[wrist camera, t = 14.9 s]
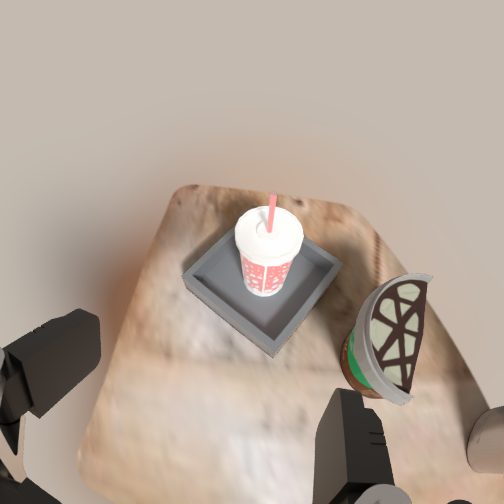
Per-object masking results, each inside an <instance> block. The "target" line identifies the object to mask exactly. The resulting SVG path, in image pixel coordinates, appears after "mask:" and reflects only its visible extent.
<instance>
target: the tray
mask: <svg viewBox="0 0 504 504" xmlns="http://www.w3.org/2000/svg"><path fill="white" fill-rule="evenodd" d="M257 207H258V206H255V207H254V208H257ZM254 208H253V209H254ZM236 225H237V224H236ZM236 225H235V226H234V227H232V228H231V229H230V230H229V231H228V232H227V233H226V234H225V235H224V236H223V237H222V238H221V239H220V240H219V241H217V242H216V243H215V244H214V245H213V246H212V247H211V248H210V249H209V250H208V251H207V252H206V253H205V254H204V255H203V256H202V257H201V258H200V259H198V260H197V261H196V262H195V263H194V264H193V265H192V266H191V267H190V268H189V269H188V270H187V271H186V272H185V273H184V274H183V275H182V279H183V281H184V284H185V286H186V288H187V289H188V290H189V291H190V292H192V293H193V294H194V295H195V296H196V297H197V298H199V299H200V300H201V301H202V302H203V303H205V304H206V305H207V306H208V307H209V308H211V309H212V310H213V311H214V312H215V313H217V314H218V315H219V316H220V317H221V318H223V319H224V320H225V321H226V322H227V323H229V324H230V325H231V326H232V327H234V328H235V329H236V330H237V331H239V332H240V333H241V334H242V335H244V336H245V337H246V338H247V339H249V340H250V341H251V342H253V343H254V344H255V345H256V346H258V347H259V348H260V349H262V350H263V351H264V352H265V353H267V354H268V355H269V356H271V357H272V358H274V356H275V355H276V354H277V353H278V352H279V350H280V349H281V348H282V347H283V345H284V344H285V343H286V342H287V340H288V339H289V338H290V337H291V335H292V334H293V333H294V332H295V330H296V329H297V328H298V327H299V325H300V324H301V323H302V322H303V320H304V319H305V318H306V316H307V315H308V314H309V312H310V311H311V310H312V309H313V307H314V306H315V305H316V303H317V302H318V301H319V299H320V298H321V297H322V295H323V294H324V293H325V291H326V290H327V289H328V287H329V286H330V284H331V283H332V282H333V280H334V279H335V278H336V276H337V275H338V273H339V271H340V269H341V267H342V266H343V264H344V263H343V262H341V261H340V260H338V259H337V258H335V257H334V256H332V255H331V254H329V253H328V252H326V251H325V250H324V249H322V248H321V247H319V246H318V245H316V244H315V243H313V242H312V241H310V240H309V239H307V238H306V237H304V238H303V241H302V244H301V248H300V250H299V253H298V254H297V255H296V256H295V257H294V258H293V261H292V263H291V266H290V268H289V271H288V273H287V276H286V278H285V281H284V283H283V286H282V288H281V289H280V290H279V291H278V292H277V293H275V294H273V295H271V296H263V297H261V296H258V295H255V294H253V293H252V292H250V291H249V290H248V289H247V287H246V285H245V283H244V278H243V271H242V264H241V257H240V251H239V249H238V247H237V245H236V241H235V227H236Z"/></svg>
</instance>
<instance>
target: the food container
mask: <svg viewBox="0 0 504 504" xmlns="http://www.w3.org/2000/svg"><path fill="white" fill-rule="evenodd" d="M432 278H433V277H432V276H429V275H425V274H408V275H403V276H398V277H396V278H393V279H391V280H389V281H388V282H386V283H384V284H382V285H381V286H379V287H378V288H376V289H375V290H374V291H373V292H372V293H371V294H370V295H369V296H368V297H367V299H366V300H365V301H364V303H363V305H362V307H361V309H360V311H359V314H358V317H357V319H356V325H355V326H354V328H353V329H352V330H351V331H350V333H349V334H348V336H347V337H346V339H345V341H344V343H343V345H342V349H341V356H340V361H341V368H342V372H343V374H344V377H345V379H346V380H347V382H348V383H349V385H350V386H351V387H352V388H353V389H354V390H355V391H360V392H361V394H362V395H363V396H365V397H368V398H374V399H386V400H388V401H390V402H392V403H394V404H397V405H400V406H402V405H404V404H406V403H408V402H410V399H411V398H414V397H415V396H412V395H410V394H409V393H410V389H411V385H412V378H413V374H414V370H415V365H416V361H417V357H418V353H419V349H420V345H421V341H422V336H423V328H424V312H425V302H426V293H427V284H428V283H429V282H430V281H431V280H432Z"/></svg>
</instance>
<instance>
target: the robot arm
mask: <svg viewBox="0 0 504 504" xmlns="http://www.w3.org/2000/svg"><path fill="white" fill-rule="evenodd" d="M100 358H101V342H100V323H99V318H98V317H97V316H96V315H93V314H91V313H89V312H87V311H84V310H82V309H76V310H74V311H72V312H71V313H69V314H67V315H66V316H63V317H59V318H55V319H51V320H50V321H48V322H46V323H44V324H43V325H41V327H38V328H36V329H34V330H33V332H29V333H27V334H26V335H24V336H22V337H21V338H19V339H17V340H16V341H14V342H12V343H11V344H9V345H7V346H6V347H4V348H3V349H2V348H0V504H61V503H60V502H59V501H58V500H57V499H55V498H54V497H53V496H51V495H50V494H48V493H47V492H46V491H44V490H43V489H41V488H40V487H39V486H38V485H36V484H35V483H34V482H32V481H31V480H30V479H29V478H27V475H26V473H25V470H24V465H23V449H24V433H25V416H24V414H25V413H26V412H27V411H30V412H31V413H32V414H34V415H35V416H36V417H38V418H39V419H40V418H41V417H42V416H43V415H44V414H45V413H46V412H47V411H49V410H50V409H51V408H52V407H53V406H54V405H55V404H56V403H57V402H58V401H60V399H62V398H63V397H64V396H65V395H66V394H67V393H68V392H69V391H70V390H72V389H73V388H74V387H75V386H76V385H77V384H78V383H79V382H80V381H82V380H83V379H84V378H85V377H86V376H87V375H88V374H89V373H91V372H92V371H93V370H94V369H95V368H96V367H97V365H98V363H99V361H100ZM383 435H384V431H383V427H382V422H381V420H380V419H379V417H378V416H377V414H376V413H375V412H374V410H373V409H368V408H364V403H363V398H362V394H361V392H360V391H354V390H348V389H342V388H336V390H335V391H334V393H333V395H332V397H331V399H330V401H329V404H328V406H327V408H326V410H325V412H324V414H323V416H322V418H321V420H320V422H319V425H318V428H317V432H316V438H315V466H314V487H313V503H312V504H412V502H411V499H410V497H409V496H408V495H407V493H406V492H404V491H403V490H402V489H400V488H398V487H396V486H395V484H394V479H393V473H392V468H391V463H390V458H389V454H388V449H387V446H386V440H385V436H383ZM467 454H468V461H469V464H470V466H471V468H472V469H473V470H474V471H476V472H478V473H494V474H504V406H501V407H497V408H493V409H490V410H488V411H486V412H485V413H484V414H483V415H482V416H481V417H480V418H479V419H478V421H477V422H476V424H475V425H474V427H473V429H472V432H471V435H470V438H469V442H468V449H467ZM448 504H472V503H470V502H468V501H465V500H454V501H451V502H449V503H448Z"/></svg>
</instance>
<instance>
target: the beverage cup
mask: <svg viewBox="0 0 504 504" xmlns="http://www.w3.org/2000/svg"><path fill="white" fill-rule="evenodd" d="M276 198H277V192H275V191H272V192H271V195H270V205H269V206H260V207H257V208H254V209H251V210H248V211H247V212H246V213H245V214H244V215H243V216H241V217H240V218H239V220H238V223H237V225H236V227H235V241H236V245H237V247H238V249H239V251H240V257H241V264H242V271H243V278H244V283H245V285H246V287H247V289H248V290H249V291H250V292H252V293H253V294H255V295H258V296H261V297H263V296H271V295H273V294H275V293H277V292H278V291H279V290H280V289H281V288H282V286H283V283H284V281H285V278H286V276H287V273H288V271H289V268H290V266H291V263H292V261H293V258H294V257H295V256H296V255H297V254H298V253H299V250H300V248H301V244H302V241H303V238H304V235H303V230H302V225H301V224H300V223H299V221H298V220H297V218H296V217H295V216H294V215H292V214H291V213H289V212H288V211H286V210H285V209H282V208H278V207H275V206H276Z"/></svg>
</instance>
